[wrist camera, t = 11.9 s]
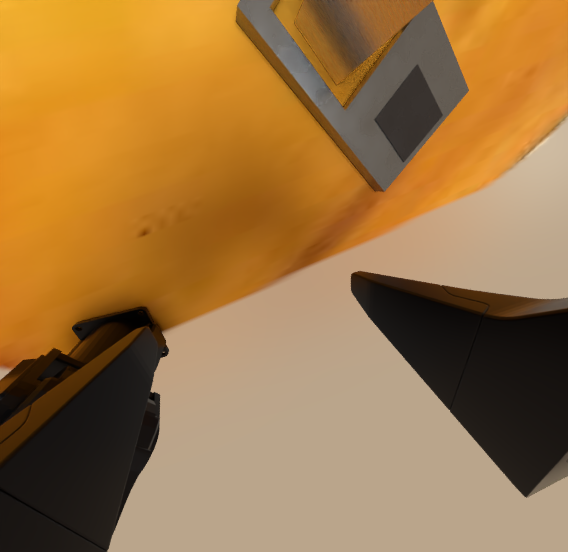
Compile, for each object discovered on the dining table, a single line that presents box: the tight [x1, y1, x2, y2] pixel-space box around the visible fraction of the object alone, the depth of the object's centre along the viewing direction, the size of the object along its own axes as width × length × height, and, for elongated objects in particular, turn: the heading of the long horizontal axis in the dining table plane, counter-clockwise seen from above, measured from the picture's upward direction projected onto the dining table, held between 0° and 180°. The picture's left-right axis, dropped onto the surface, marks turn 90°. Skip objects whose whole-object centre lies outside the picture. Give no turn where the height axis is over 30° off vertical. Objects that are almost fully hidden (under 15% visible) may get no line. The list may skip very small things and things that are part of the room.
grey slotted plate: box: [236, 0, 469, 192], centre depth 17 cm, size 11×18×2 cm, turn 51°
